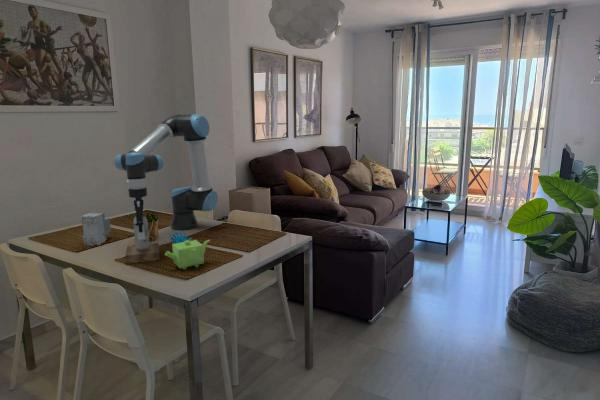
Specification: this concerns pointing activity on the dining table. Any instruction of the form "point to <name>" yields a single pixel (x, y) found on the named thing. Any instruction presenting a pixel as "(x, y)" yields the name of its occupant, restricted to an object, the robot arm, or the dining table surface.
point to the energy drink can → (144, 243)
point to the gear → (179, 238)
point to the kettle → (188, 253)
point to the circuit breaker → (95, 228)
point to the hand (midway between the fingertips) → (141, 235)
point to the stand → (142, 254)
